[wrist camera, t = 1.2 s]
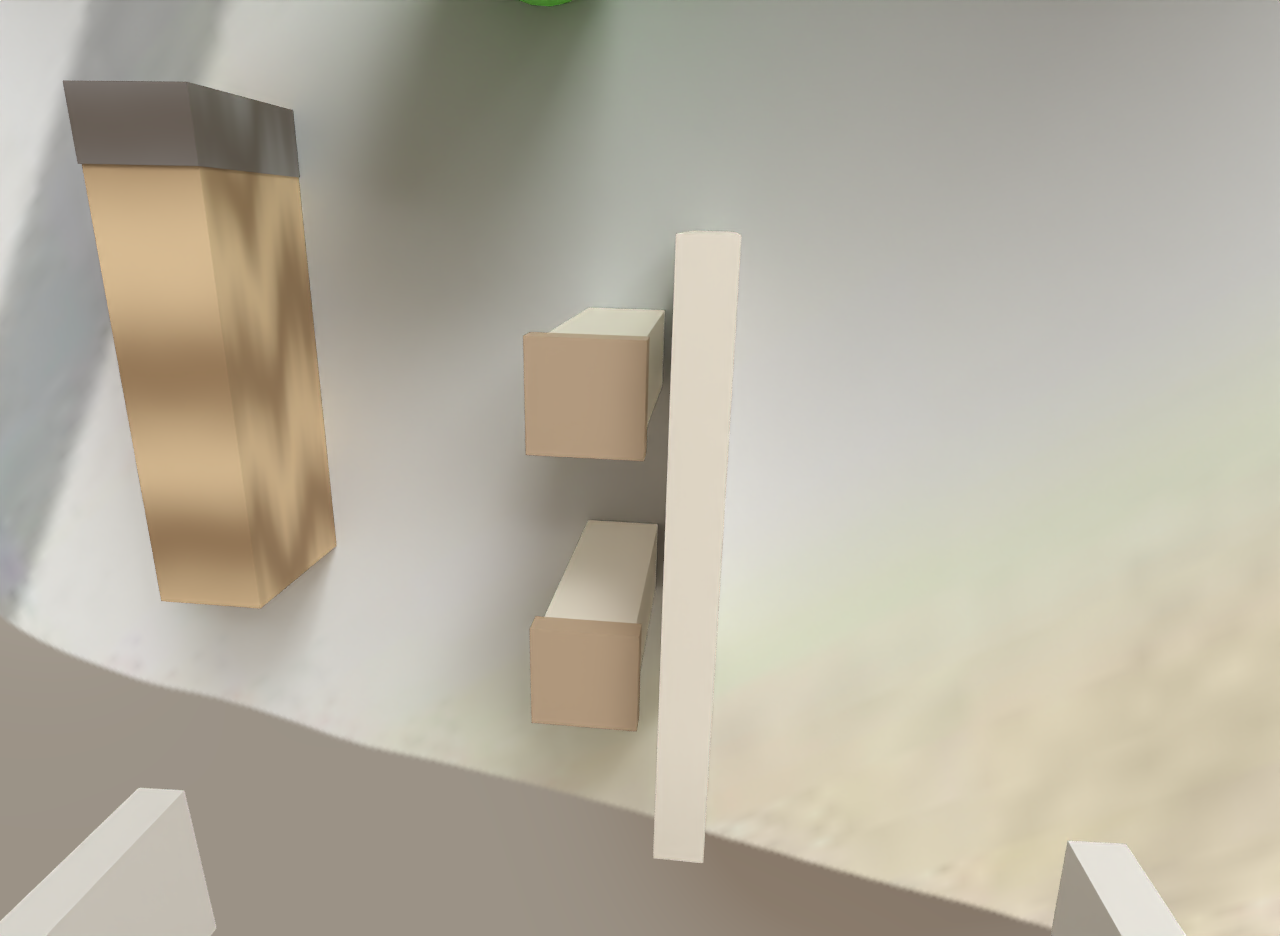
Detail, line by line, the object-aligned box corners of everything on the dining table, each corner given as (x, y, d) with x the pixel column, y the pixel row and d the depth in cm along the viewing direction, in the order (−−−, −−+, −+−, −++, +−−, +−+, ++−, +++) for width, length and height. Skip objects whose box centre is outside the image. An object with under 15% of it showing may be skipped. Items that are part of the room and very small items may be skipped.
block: (191, 108, 30) (62, 80, 24) (292, 110, 29) (187, 81, 24) (251, 540, 35) (158, 601, 29) (337, 545, 35) (260, 609, 29)
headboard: (584, 227, 29) (497, 229, 18) (733, 231, 29) (741, 235, 18) (583, 642, 35) (516, 844, 24) (709, 652, 34) (703, 863, 23)
